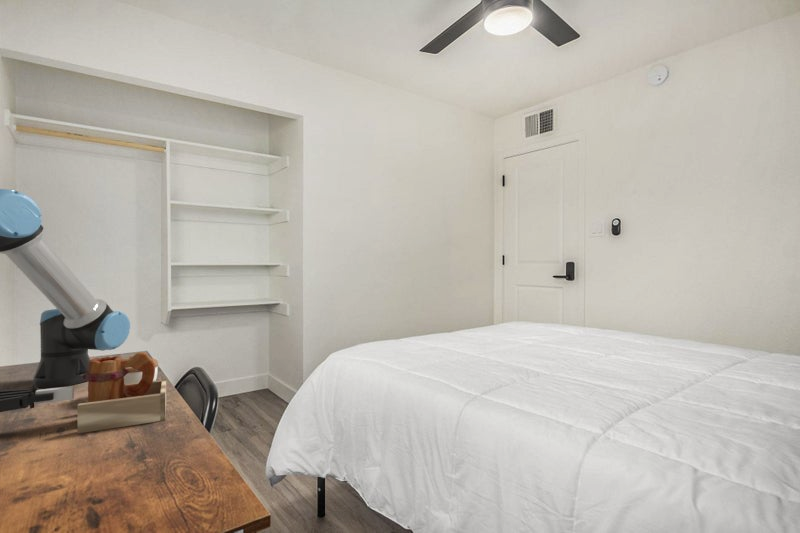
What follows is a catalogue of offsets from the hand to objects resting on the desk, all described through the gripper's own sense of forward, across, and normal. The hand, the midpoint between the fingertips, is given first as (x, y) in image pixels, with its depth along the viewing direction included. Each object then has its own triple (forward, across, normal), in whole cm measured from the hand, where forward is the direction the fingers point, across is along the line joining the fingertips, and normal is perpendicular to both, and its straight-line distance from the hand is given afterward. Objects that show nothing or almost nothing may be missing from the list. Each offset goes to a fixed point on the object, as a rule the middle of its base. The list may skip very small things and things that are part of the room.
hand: (72, 392), depth 96 cm
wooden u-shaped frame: (+10, 0, -7) cm, 12 cm away
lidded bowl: (+10, -18, -7) cm, 22 cm away
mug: (+9, 0, -7) cm, 12 cm away
